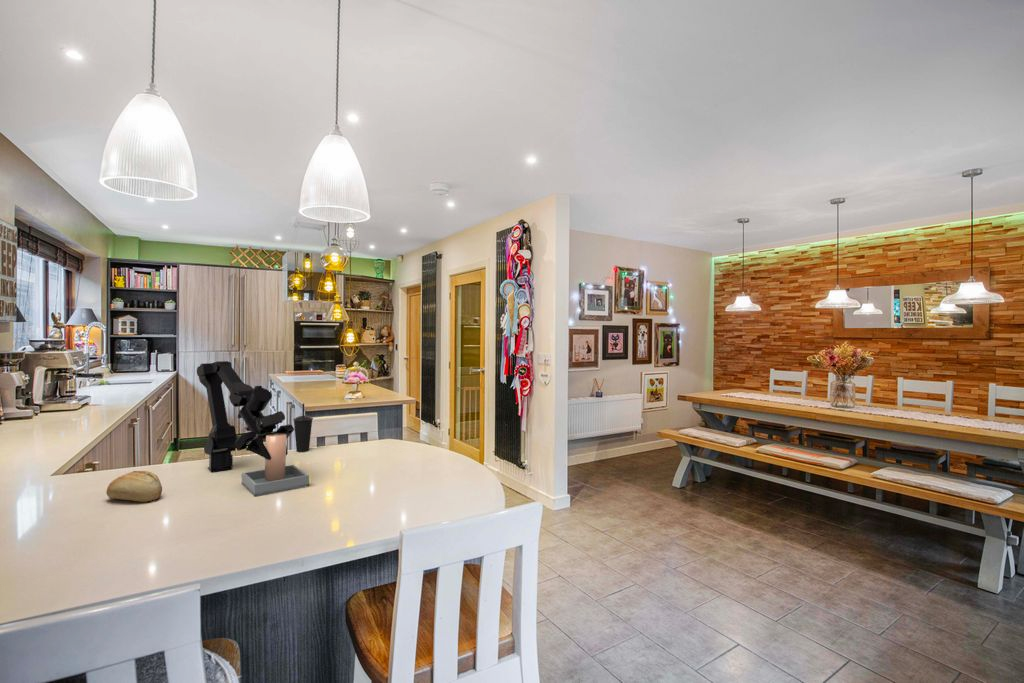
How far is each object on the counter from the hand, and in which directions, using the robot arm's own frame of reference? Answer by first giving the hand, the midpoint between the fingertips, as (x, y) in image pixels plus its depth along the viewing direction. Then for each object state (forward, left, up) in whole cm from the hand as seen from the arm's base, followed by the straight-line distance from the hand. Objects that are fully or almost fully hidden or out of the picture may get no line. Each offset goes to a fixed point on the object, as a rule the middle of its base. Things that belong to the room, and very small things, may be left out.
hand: (278, 456), depth 154 cm
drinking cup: (+21, +42, -10) cm, 48 cm away
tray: (-1, +1, -9) cm, 9 cm away
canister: (-1, +1, -7) cm, 7 cm away
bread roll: (-36, +12, -10) cm, 39 cm away
